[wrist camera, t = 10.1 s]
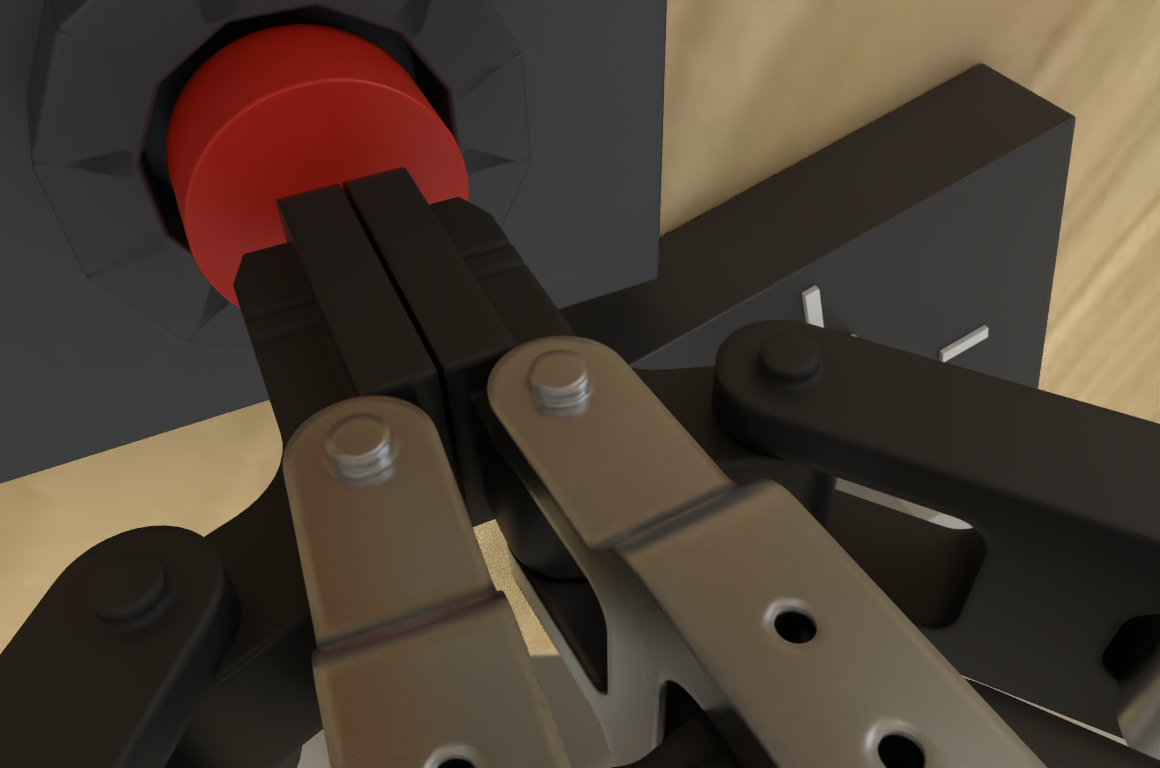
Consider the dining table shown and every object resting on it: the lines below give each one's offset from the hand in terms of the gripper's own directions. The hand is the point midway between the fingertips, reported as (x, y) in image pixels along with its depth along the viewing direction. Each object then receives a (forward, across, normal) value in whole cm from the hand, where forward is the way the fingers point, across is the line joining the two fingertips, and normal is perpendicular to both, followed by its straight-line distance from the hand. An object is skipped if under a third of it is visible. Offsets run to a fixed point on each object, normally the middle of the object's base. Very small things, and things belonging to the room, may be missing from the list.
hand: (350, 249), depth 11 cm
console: (+6, -11, +11) cm, 17 cm away
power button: (+3, 0, 0) cm, 3 cm away
